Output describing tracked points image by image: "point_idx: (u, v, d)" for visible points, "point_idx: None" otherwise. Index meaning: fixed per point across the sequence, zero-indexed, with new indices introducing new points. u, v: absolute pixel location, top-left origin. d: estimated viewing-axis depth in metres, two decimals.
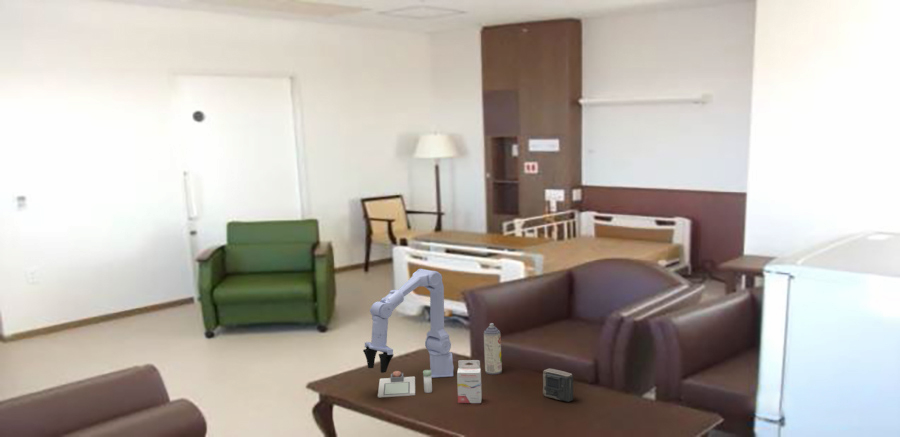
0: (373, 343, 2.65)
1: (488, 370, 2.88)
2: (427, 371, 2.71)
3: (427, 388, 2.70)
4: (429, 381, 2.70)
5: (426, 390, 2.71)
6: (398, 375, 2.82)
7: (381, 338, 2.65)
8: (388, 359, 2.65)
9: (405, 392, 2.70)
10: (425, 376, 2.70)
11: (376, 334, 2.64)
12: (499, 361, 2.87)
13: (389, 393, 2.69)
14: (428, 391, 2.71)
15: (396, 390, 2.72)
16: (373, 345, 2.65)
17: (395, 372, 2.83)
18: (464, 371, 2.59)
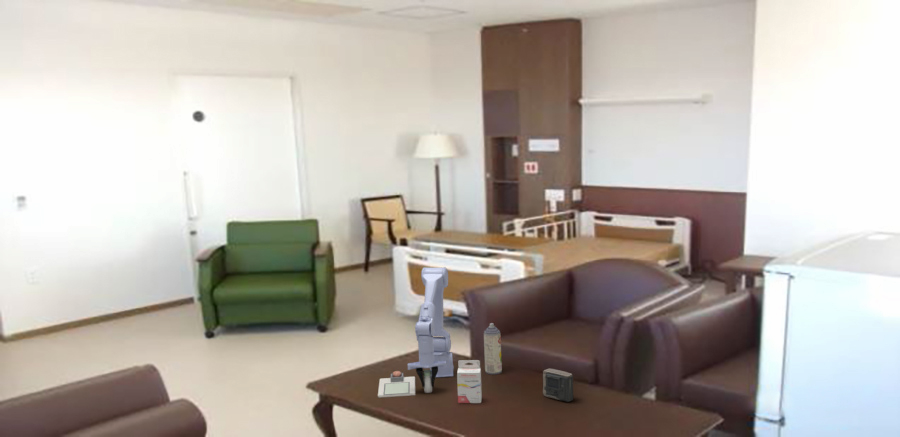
0: (427, 362, 2.68)
1: (488, 370, 2.88)
2: (427, 371, 2.71)
3: (427, 388, 2.70)
4: (429, 381, 2.70)
5: (426, 390, 2.71)
6: (398, 375, 2.82)
7: (433, 354, 2.69)
8: None
9: (405, 392, 2.70)
10: (425, 376, 2.70)
11: (427, 353, 2.67)
12: (499, 361, 2.87)
13: (389, 393, 2.69)
14: (428, 391, 2.71)
15: (396, 390, 2.72)
16: (427, 364, 2.68)
17: (395, 372, 2.83)
18: (464, 371, 2.59)
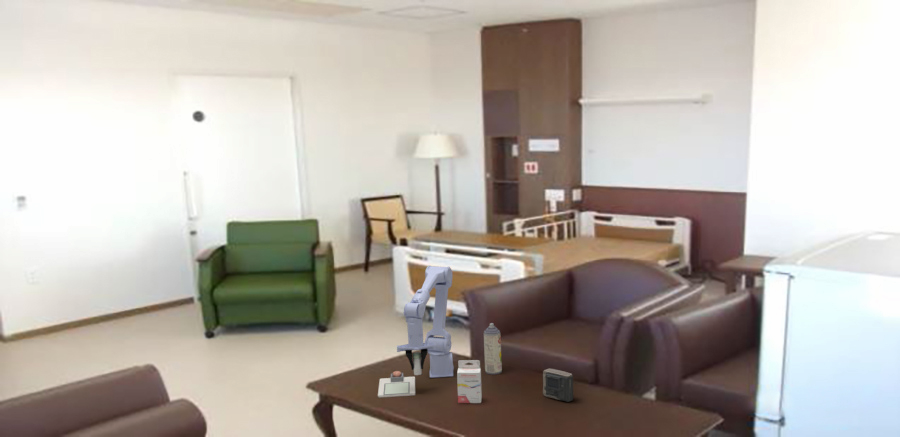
0: (416, 344, 2.67)
1: (488, 370, 2.88)
2: (416, 353, 2.70)
3: (417, 370, 2.70)
4: (418, 363, 2.70)
5: (415, 372, 2.70)
6: (398, 375, 2.82)
7: (422, 336, 2.69)
8: None
9: (405, 392, 2.70)
10: (414, 358, 2.69)
11: (415, 335, 2.67)
12: (499, 361, 2.87)
13: (389, 393, 2.69)
14: (417, 373, 2.70)
15: (396, 390, 2.72)
16: (417, 346, 2.67)
17: (395, 372, 2.83)
18: (464, 371, 2.59)
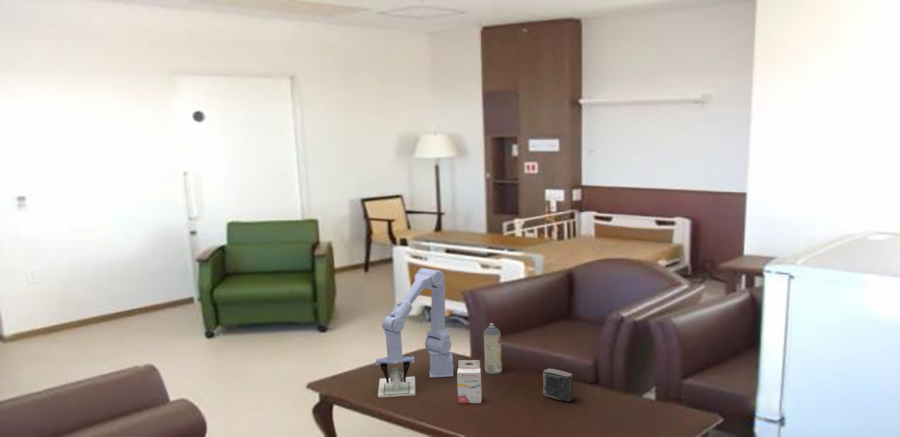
0: (395, 357, 2.69)
1: (488, 370, 2.88)
2: (395, 369, 2.72)
3: (395, 386, 2.72)
4: (397, 379, 2.71)
5: (394, 388, 2.72)
6: None
7: (401, 350, 2.71)
8: None
9: (405, 392, 2.70)
10: (393, 374, 2.71)
11: (391, 348, 2.69)
12: (499, 361, 2.87)
13: (389, 393, 2.69)
14: (396, 389, 2.72)
15: None
16: (395, 359, 2.69)
17: None
18: (464, 371, 2.59)
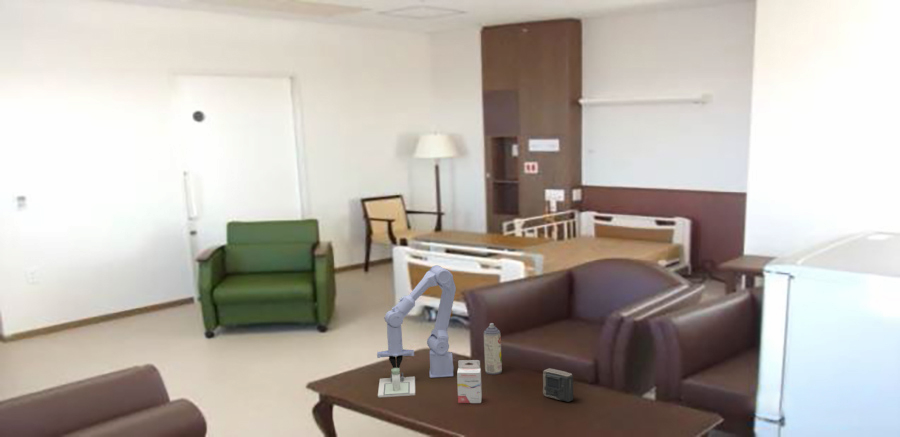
0: (395, 350, 2.79)
1: (488, 370, 2.88)
2: (395, 369, 2.72)
3: (395, 386, 2.72)
4: (397, 379, 2.71)
5: (394, 388, 2.72)
6: None
7: (401, 343, 2.81)
8: None
9: (405, 392, 2.70)
10: (393, 374, 2.71)
11: (389, 341, 2.80)
12: (499, 361, 2.87)
13: (389, 393, 2.69)
14: (396, 389, 2.72)
15: None
16: (396, 352, 2.79)
17: None
18: (464, 371, 2.59)
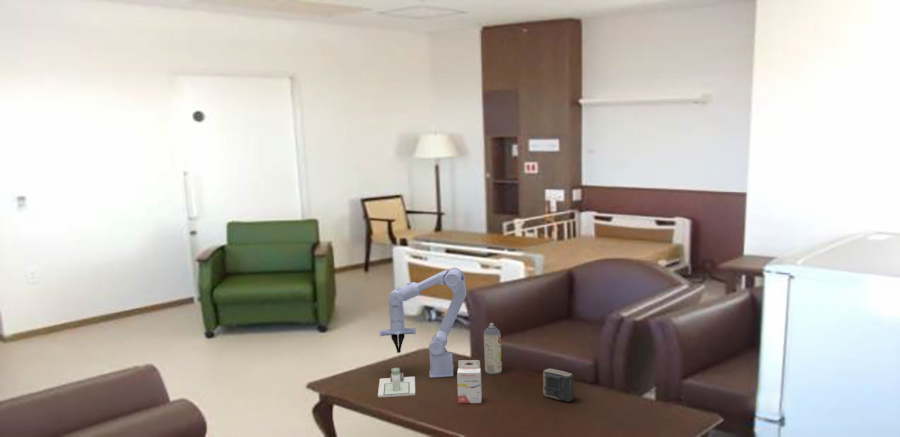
0: (397, 329, 2.87)
1: (488, 370, 2.88)
2: (395, 369, 2.72)
3: (395, 386, 2.72)
4: (397, 379, 2.71)
5: (394, 388, 2.72)
6: None
7: (403, 322, 2.89)
8: None
9: (405, 392, 2.70)
10: (393, 374, 2.71)
11: (390, 319, 2.88)
12: (499, 361, 2.87)
13: (389, 393, 2.69)
14: (396, 389, 2.72)
15: None
16: (398, 331, 2.87)
17: None
18: (464, 371, 2.59)
